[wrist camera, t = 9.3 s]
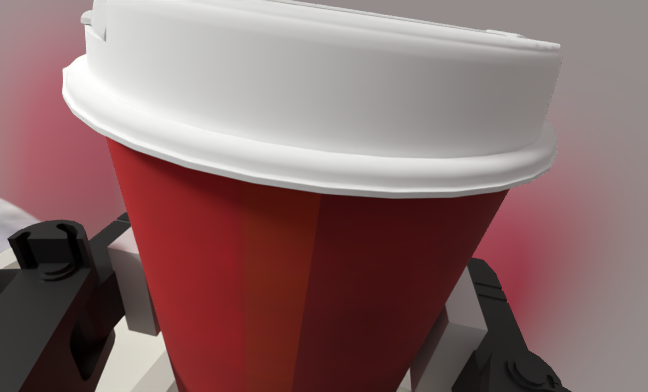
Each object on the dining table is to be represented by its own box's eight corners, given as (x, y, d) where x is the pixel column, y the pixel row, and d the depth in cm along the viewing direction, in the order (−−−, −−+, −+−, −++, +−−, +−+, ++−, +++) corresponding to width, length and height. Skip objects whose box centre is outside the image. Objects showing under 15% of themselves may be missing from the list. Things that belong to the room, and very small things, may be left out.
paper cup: (367, 345, 16) (467, 25, 9) (399, 587, 9) (877, 90, 2) (203, 333, 15) (174, -20, 8) (116, 581, 9) (-365, -97, 2)
